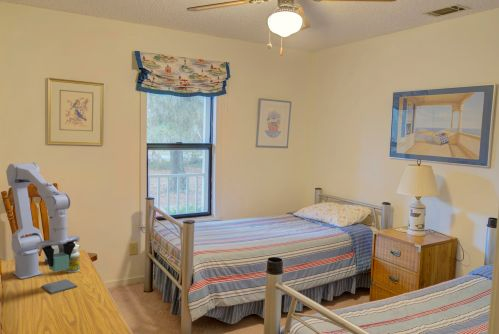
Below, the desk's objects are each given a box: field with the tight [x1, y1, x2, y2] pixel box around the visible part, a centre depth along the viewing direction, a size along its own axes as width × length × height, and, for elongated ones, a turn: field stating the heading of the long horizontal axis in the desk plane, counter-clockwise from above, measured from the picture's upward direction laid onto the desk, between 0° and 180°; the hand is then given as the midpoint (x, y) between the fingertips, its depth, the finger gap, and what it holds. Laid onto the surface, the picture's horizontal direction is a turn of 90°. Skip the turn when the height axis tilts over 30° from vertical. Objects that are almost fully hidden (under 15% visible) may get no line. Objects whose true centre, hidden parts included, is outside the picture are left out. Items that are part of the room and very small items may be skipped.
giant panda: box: [43, 242, 81, 265], centre depth 171 cm, size 15×6×10 cm, turn 105°
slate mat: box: [41, 278, 78, 295], centre depth 145 cm, size 9×9×1 cm
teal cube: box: [48, 252, 69, 273], centre depth 144 cm, size 5×5×5 cm
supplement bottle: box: [65, 247, 81, 274], centre depth 161 cm, size 5×5×10 cm
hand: (58, 264), depth 144 cm, fingers closed on teal cube, 5 cm apart
